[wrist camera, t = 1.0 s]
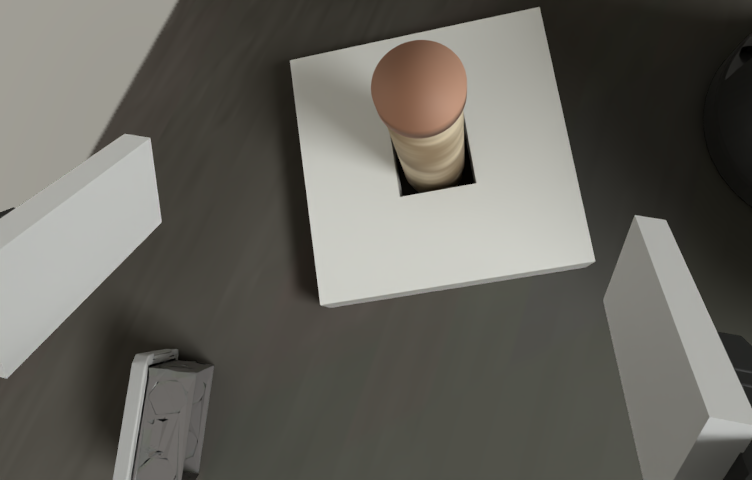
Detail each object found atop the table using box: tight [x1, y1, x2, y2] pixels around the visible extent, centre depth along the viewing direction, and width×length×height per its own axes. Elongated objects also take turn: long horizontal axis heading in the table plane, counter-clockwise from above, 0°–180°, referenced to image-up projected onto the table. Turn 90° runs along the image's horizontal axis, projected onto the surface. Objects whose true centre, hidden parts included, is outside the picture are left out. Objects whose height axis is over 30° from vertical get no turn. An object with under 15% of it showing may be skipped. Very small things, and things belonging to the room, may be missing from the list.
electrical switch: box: [113, 349, 214, 480], centre depth 38 cm, size 9×5×9 cm, turn 174°
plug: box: [371, 40, 467, 193], centre depth 36 cm, size 5×5×14 cm
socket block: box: [290, 7, 595, 308], centre depth 41 cm, size 18×18×3 cm
